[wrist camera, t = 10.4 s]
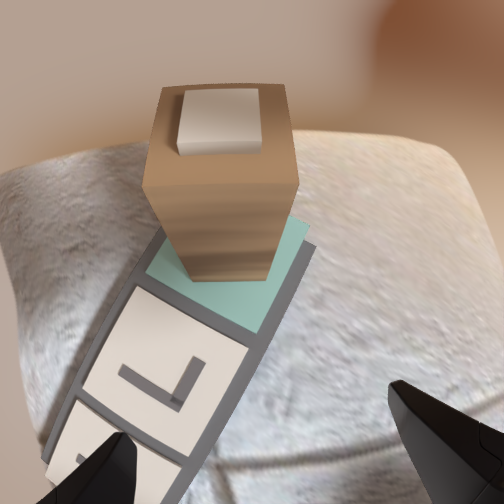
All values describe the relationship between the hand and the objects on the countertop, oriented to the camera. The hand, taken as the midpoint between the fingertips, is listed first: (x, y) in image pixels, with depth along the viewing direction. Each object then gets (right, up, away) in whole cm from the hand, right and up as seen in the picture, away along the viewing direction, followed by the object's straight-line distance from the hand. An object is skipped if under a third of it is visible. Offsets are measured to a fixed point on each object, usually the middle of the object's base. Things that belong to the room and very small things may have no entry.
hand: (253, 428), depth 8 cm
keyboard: (-6, -2, +10) cm, 11 cm away
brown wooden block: (-2, +6, +11) cm, 13 cm away
